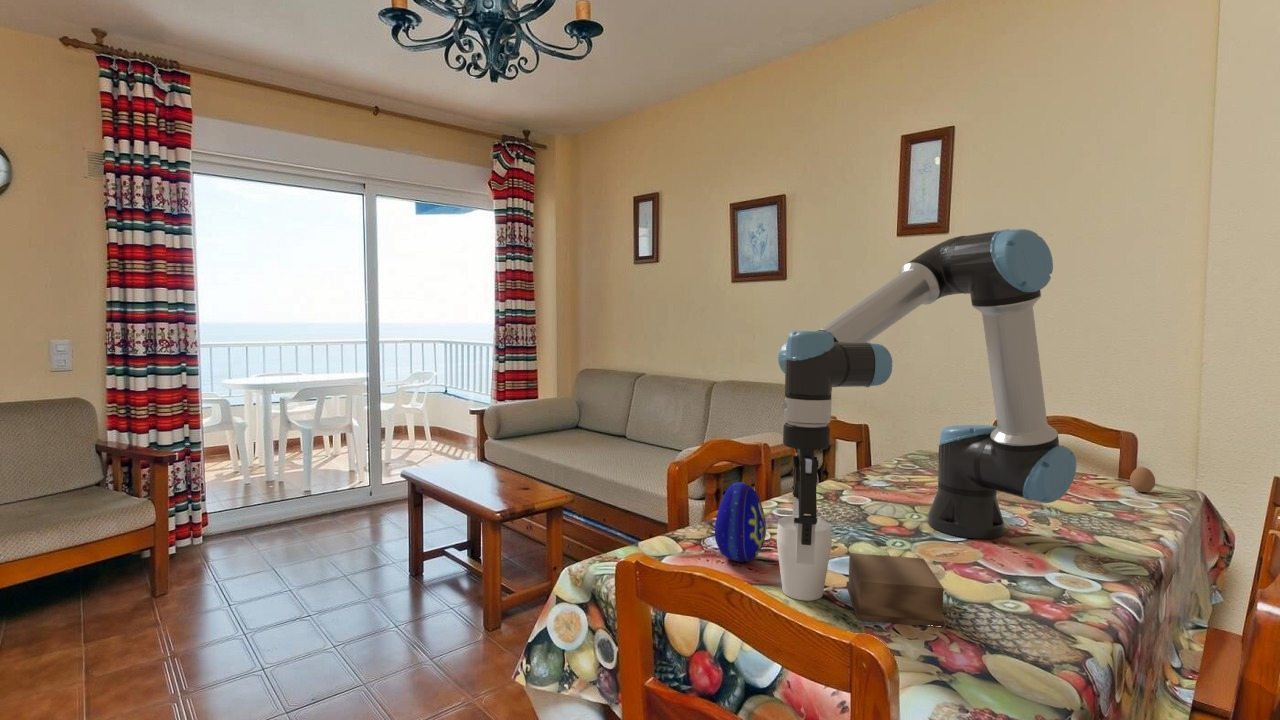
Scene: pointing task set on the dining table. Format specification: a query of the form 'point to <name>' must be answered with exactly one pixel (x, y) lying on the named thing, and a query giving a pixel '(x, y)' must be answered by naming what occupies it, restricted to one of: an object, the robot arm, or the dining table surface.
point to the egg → (1142, 479)
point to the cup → (803, 577)
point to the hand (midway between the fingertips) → (802, 548)
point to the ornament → (740, 523)
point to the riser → (894, 590)
